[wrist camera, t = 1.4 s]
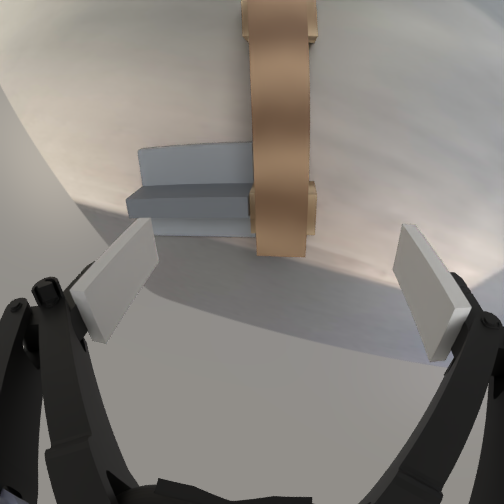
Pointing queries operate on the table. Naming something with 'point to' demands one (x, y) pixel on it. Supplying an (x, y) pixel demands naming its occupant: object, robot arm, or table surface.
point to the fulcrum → (196, 189)
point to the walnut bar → (280, 124)
